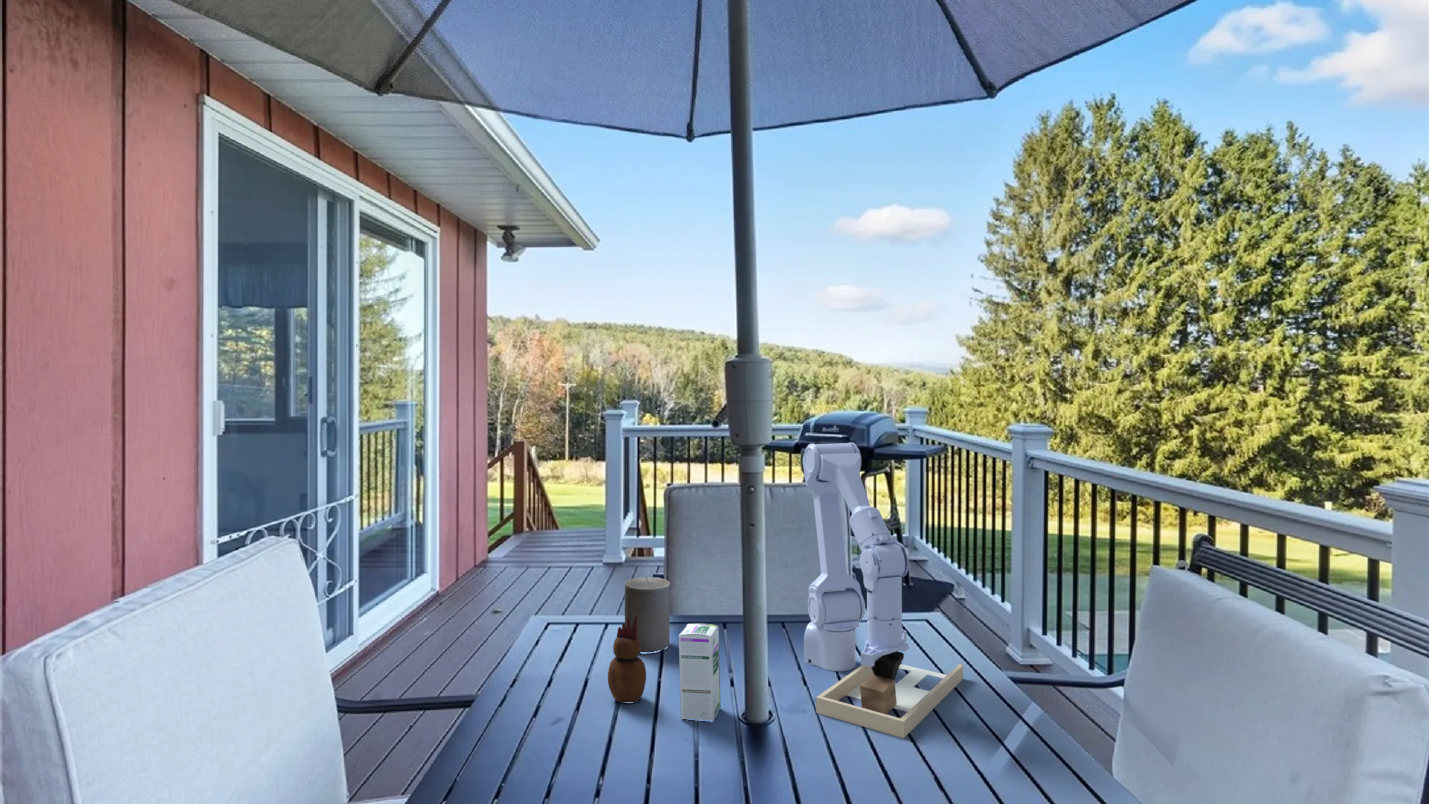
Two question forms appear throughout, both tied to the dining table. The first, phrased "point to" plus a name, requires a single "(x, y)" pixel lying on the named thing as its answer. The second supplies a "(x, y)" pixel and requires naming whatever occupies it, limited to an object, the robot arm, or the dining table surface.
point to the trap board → (906, 696)
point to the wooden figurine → (627, 665)
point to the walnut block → (878, 694)
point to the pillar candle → (649, 611)
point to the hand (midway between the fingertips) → (885, 695)
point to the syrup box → (699, 671)
